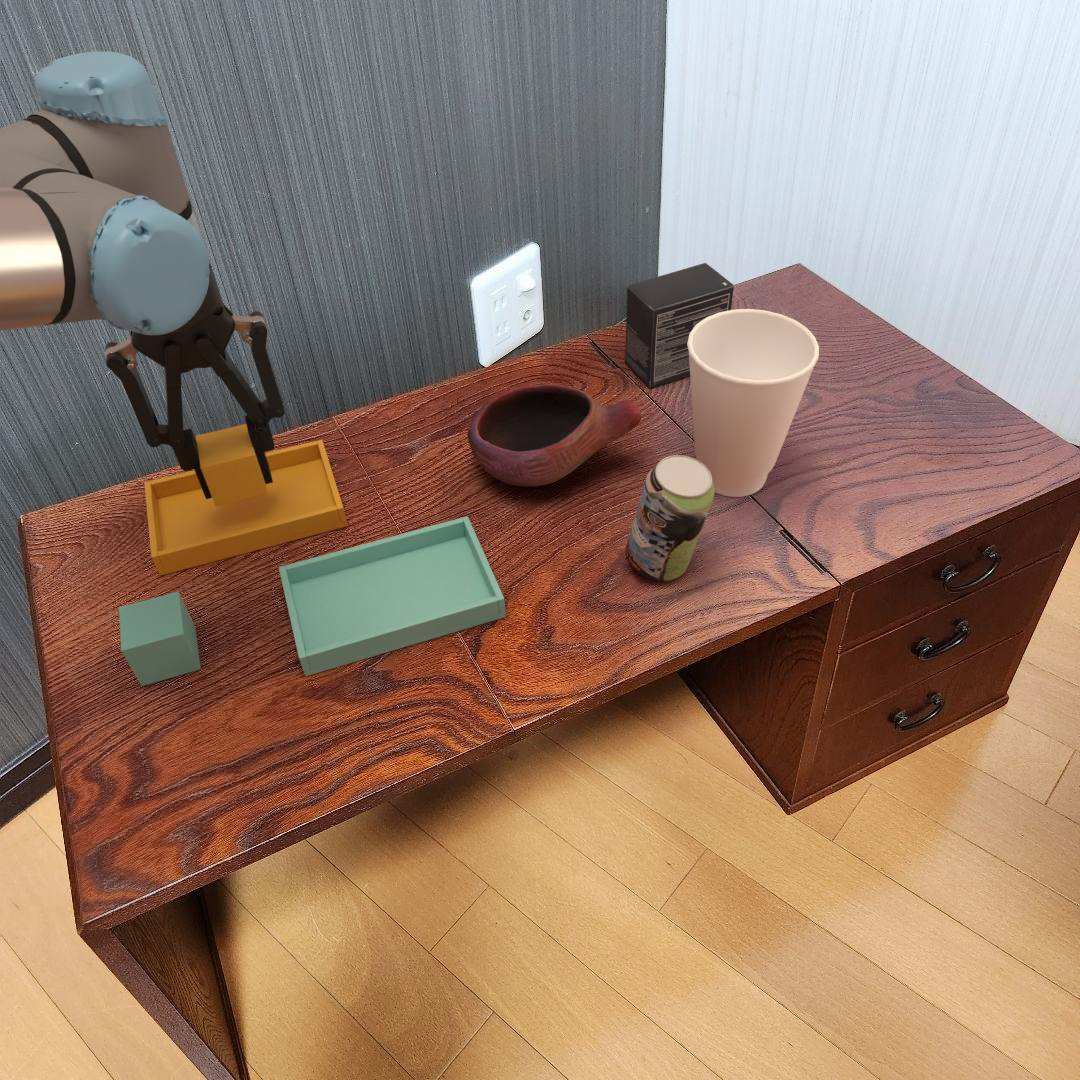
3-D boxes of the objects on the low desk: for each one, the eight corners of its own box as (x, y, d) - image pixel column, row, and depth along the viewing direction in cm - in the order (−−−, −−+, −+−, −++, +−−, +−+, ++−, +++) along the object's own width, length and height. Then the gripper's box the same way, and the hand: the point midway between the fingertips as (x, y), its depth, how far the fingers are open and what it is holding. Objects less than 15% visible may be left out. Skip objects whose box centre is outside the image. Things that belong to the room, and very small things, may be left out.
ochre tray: (160, 576, 89) (151, 557, 87) (152, 500, 96) (144, 482, 94) (348, 526, 92) (343, 507, 91) (326, 457, 100) (322, 439, 98)
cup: (810, 464, 97) (841, 332, 85) (758, 530, 90) (784, 398, 79) (709, 423, 102) (726, 295, 90) (652, 484, 95) (663, 353, 84)
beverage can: (627, 538, 90) (632, 442, 82) (703, 544, 89) (717, 448, 81) (622, 586, 86) (627, 491, 77) (702, 593, 85) (716, 498, 76)
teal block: (141, 686, 80) (121, 650, 76) (138, 643, 83) (118, 607, 79) (200, 669, 81) (183, 633, 77) (195, 627, 84) (178, 591, 80)
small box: (697, 337, 114) (706, 259, 106) (727, 365, 109) (738, 285, 102) (621, 361, 111) (625, 282, 103) (649, 390, 106) (654, 310, 99)
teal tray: (305, 676, 80) (298, 658, 78) (284, 585, 87) (278, 566, 85) (506, 617, 84) (504, 598, 82) (470, 534, 91) (467, 515, 89)
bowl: (506, 524, 92) (502, 463, 86) (454, 451, 100) (446, 391, 94) (644, 471, 97) (649, 410, 91) (584, 405, 105) (584, 345, 99)
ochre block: (215, 506, 89) (200, 467, 86) (210, 474, 92) (195, 435, 89) (267, 493, 90) (255, 454, 87) (260, 462, 94) (248, 423, 90)
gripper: (267, 225, 79) (321, 437, 96) (43, 268, 75) (141, 481, 92) (280, 267, 74) (336, 482, 91) (41, 315, 70) (145, 531, 87)
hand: (238, 481), depth 91 cm, fingers closed on ochre block, 5 cm apart
